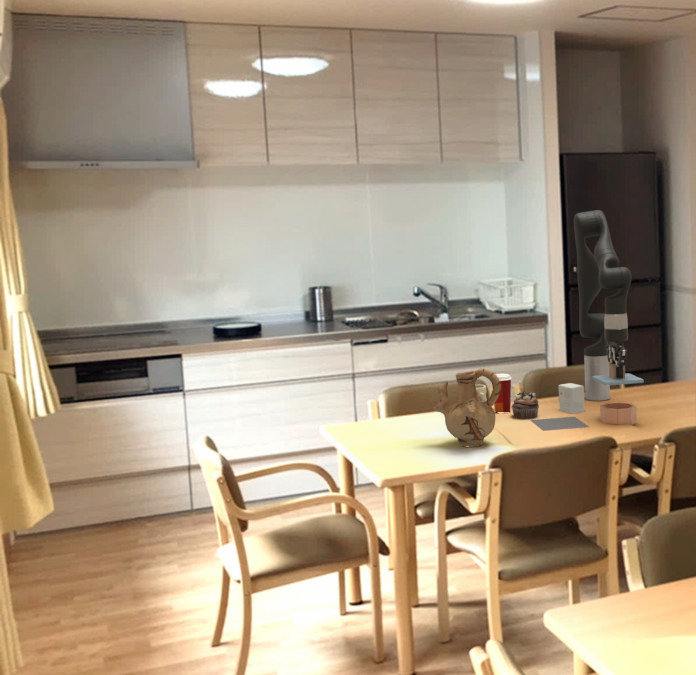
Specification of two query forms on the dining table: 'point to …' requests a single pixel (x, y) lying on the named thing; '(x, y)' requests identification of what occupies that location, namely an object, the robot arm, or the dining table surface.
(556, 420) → the mat
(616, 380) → the lid
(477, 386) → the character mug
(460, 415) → the ceramic vessel
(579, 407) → the small box
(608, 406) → the bowl
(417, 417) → the dining table surface
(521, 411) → the cupcake
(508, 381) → the paper cup
